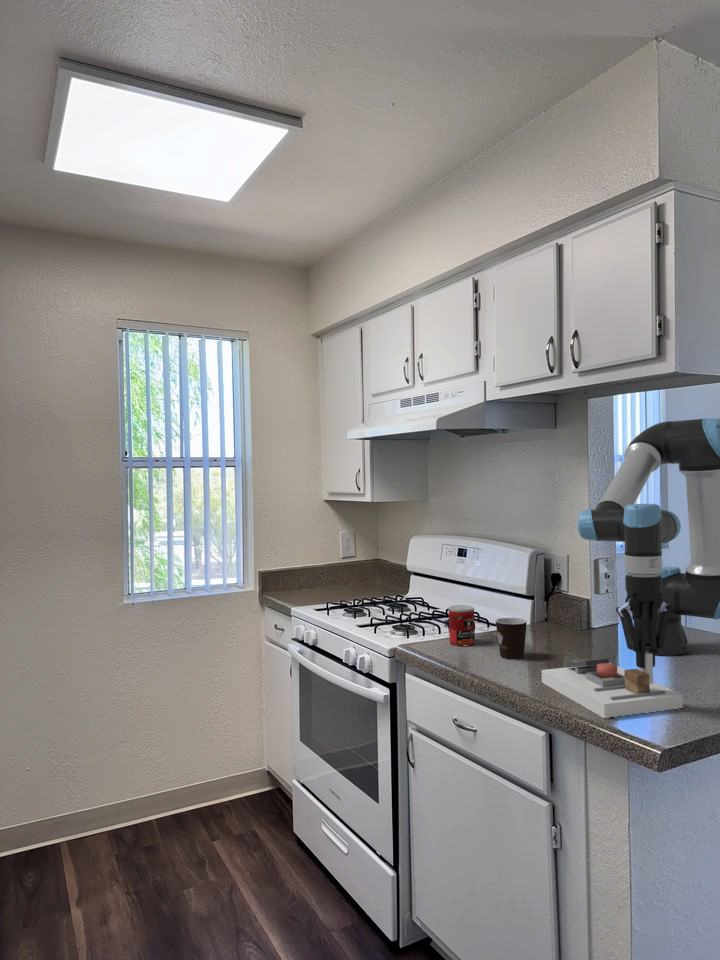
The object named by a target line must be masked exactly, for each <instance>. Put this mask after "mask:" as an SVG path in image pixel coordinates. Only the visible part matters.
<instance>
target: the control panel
mask: <svg viewBox="0 0 720 960" xmlns="http://www.w3.org/2000/svg"><path fill="white" fill-rule="evenodd" d="M609 664H612V663H611V662H609ZM616 666H617V675H618V676H617V677H602V676H599V675H597V665H594V666H583V667H568V668H567V666H566V667H559V668H548V669H541V683H543V684H544V685H546V686H547V687H550V688H551V689H553V690H554V691H556V692H558V693H559V694H561V695H563V696H565V697H566V698H568V699H570V700H572V702H575V703H577V704H579V705H581V706H583V707H584V708H585V709H587V710H589V711H590V712H593V713H594V714H596V715H597V716H600V717H601V718H603V719H604V718H606V719H611V718H610V717H614V718H619V717H618V716H622V717H626V716H625V715H630V716H632V715H631V714H638V713H646V714H648V713H647V712H653V711H661V710H668V709H678V708H683V709H684V694H682V693H679V692H677V691H675V690H673V689H670V688H668V687H666V686H664V685H661V684H658V683H656V682H654V681H653V684H650V692H648V693H639V694H636V693H634V692H632V691H630V690H628V689H626V688H625V672H624V670H626V669H625V668H623V667H620V666H618V665H616ZM678 710H679V709H678ZM638 715H639V714H638Z"/></svg>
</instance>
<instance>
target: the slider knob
mask: <svg viewBox="0 0 720 960" xmlns="http://www.w3.org/2000/svg"><path fill="white" fill-rule="evenodd" d="M624 672H625V688H626V689H628V690H630V691H632V692H634V693H636V694H639V693H648V692H650V683H649V674H648V673H645V672H643V671H640V670H639V668H638V669H637V668H633V669H632V668H630V669H625V670H624Z"/></svg>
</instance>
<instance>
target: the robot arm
mask: <svg viewBox="0 0 720 960" xmlns="http://www.w3.org/2000/svg"><path fill="white" fill-rule="evenodd" d="M623 454H624V455H623V456H624V460H623V461H622V463H621V465H620V467H619V468H618V470H617V472H616V473H615V476H614V477H613V478H612V480H611V482H610V484H609V486H608V487H607V489H606V490H605V492H604V494H603V496H602V497H601V499H599V502H598V504H597V505H596V507H595V508H594V509H592V508H590V509H584V510H582V511H580V513H579V514H578V518H577V523H576V524H577V530H578V534H579V536H580V537H581V538H582V539H583V540H588V541H595V542H623V543H624V572H625V573H627V574H626V575H625V577H624V578H625V579H624V580H625V581H624V582H625V583H624V584H625V586H624V587H625V592H626V595H627V596H626V598H625V603H624V604H623V605H622V606H621V607H620V606H617V607H616V608H615V611H616V613H617V615H618V616H619V619H620V621H621V622H620V623H621V627H622V630H623V635H624V640H625V644H626V648H627V649H628V650H631V651H633V652H635V663H636V664H635V665H636V667H638V670H640V671H643V672H645V673H648V674H649V683H650V684H653V682H654V671H653V670H654V668H655V666H656V655H657V656H678V655H677V654H682V655H684V654H683V653H686V652H688V651H690V649H689V647H690V646H689V645H690V644H689V641H688V638H687V635H686V632H685V629H684V627H683V625H682V624H683V623H682V616H688V617H697V618H705V619H711V620H715V621H716V620H720V418H714V417H713V418H711V417H710V418H709V417H708V418H707V417H704V418H696V419H695V418H693V419H685V420H674V421H673V420H672V421H671V420H669V421H666V420H665V421H662V422H657V423H655V424H653V425H651V426H650V427H648V428H646V429H644V430H643V431H642V432H640V433H639V434H638V435H636V436H635V437H634V438H633V439H632V440H631V442H629V444H628V446H627V447H626V449H625V451H624V453H623ZM665 464H670V465H671V464H673V465H674V464H678V470H679V472H680V473H681V474H682V475H683V476H685V484H686V485H685V486H686V497H687V498H686V500H687V502H686V503H687V515H688V517H687V518H688V532H689V535H688V536H689V549H690V551H689V552H690V563H689V565H687V566H686V567H685V573H683V572H682V571H681V568H680V567H678V566H663V553H662V552H663V551H662V550H663V547H662V546H663V544H668V543H670V542H671V541H673V540H675V539H676V537H678V536H679V534H680V532H681V528H682V527H681V526H682V525H681V521H680V519H679V517H678V516H677V515H676V514H675V513H674V512H672V511H670V510H668V509H667V510H666V509H662V508H661V507H660V505H659V504H657V503H636V502H637V500H638V498H639V496H640V494H641V492H642V491H643V488H644V487H645V485H646V484H647V482H648V479H649V478H650V476H651V474H652V473H653V472H655V471H657V470H658V469H659V468H660V466H662V465H665ZM688 653H689V652H688ZM686 654H687V653H686Z"/></svg>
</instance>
